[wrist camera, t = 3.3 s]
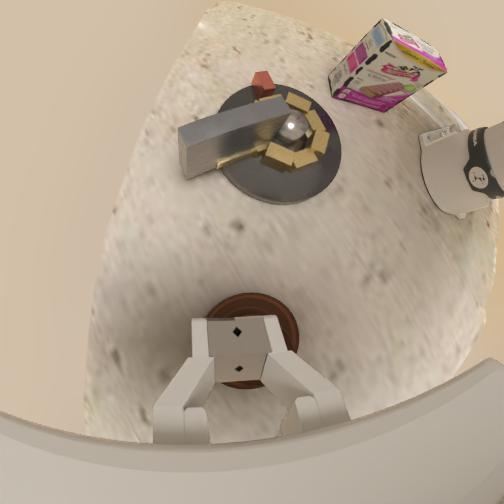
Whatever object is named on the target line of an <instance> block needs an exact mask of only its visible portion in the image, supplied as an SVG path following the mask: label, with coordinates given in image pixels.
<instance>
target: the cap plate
mask: <svg viewBox="0 0 504 504" xmlns="http://www.w3.org/2000/svg"><path fill="white" fill-rule="evenodd" d="M289 92H291V93H293V94H295V95H297V96H299V97H302V98H304V99H306V100H308V101H310V102H311V106H310V109H309V111H311V110H315V111H316V113H317V115H318V116H319V118H320V120H321V122H322V123H323V125H324V127H325V129H326V130H325V132H327V133H329V134H330V135H329V139H328V143H327V147H326V150H325V154H324V155H323V156H321V157H320V158H319V159H317V160H318V161H316V162H315V163H314V164H312V165H311V166H309V167H306V168H303V169H301V170H298V171H295V172H293V173H290V172H289V170H288V169H287V170H286V171H285V172H284V173H282V172H279V171H277V170H275V169H272V168H270V167H268V166H265V165H263V164H260V163H259V162H260V160H261V157H262V155H261V156H258V157H255V158H253V156H250V157H247V158H244V159H241V160H239V161H236V162H234V163H231V164H228V165H226V166H223V167H221V168H220V169H221V170H222V172H223V173H224V175H225V176H226V177H227V178H228V180H229V181H230V182H231V183H232V184H233V185H234V186H235V187H237V188H238V189H239V190H241V191H242V192H243V193H245V194H247V195H249V196H250V197H252V198H255V199H257V200H259V201H263V202H266V203H271V204H279V205H287V204H295V203H299V202H302V201H305V200H307V199H309V198H311V197H313V196H315V195H317V194H318V193H320V192H322V191H323V190H324V189H325V188H326V187H328V185H329V184H330V183H331V182H332V181H333V179H334V177H335V176H336V174H337V171H338V169H339V166H340V161H341V144H340V138H339V135H338V132H337V129H336V127H335V125H334V123H333V121H332V120H331V118H330V117H329V115H328V114H327V113H326V111H325V110H324V109H323V108H322V107H321V106H320V105H319V104H318V103H317V102H316V101H314V100H313V99H312V98H310V97H309V96H307V95H306V94H304V93H302V92H300V91H298V90H296V89H293V88H291V87H287V86H283V85H278V84H274V83H273V81H272V79H271V77H270V75H269V73H268V72H267V71H262V72H256V73H255V75H254V78H253V80H252V86H249V87H246V88H243V89H241V90H239V91H237V92H236V93H234V94H233V95H232V96H230V97H229V98H228V99H227V100H226V101H225V102H224V104H223V105H222V106H221V108H220V110H219V112H218V113H221V112H224V111H227V110H231V109H234V108H237V107H241V106H244V105H248V104H251V103H254V102H255V100H257V101H258V100H259V99H261V98H265V97H269V96H273V95H278V94H281V95H282V97H283V98H284V99H285V97H286V96H287V94H288V93H289ZM290 110H291V112H292V114H291V115H290V116H289V118H288V119H287V120H286V122H285V123H284V124H283V126H282V127H281V128H280V130H279V131H278V133H277V134H276V135H275V137H274V138H273V139H272V141H271V142H273V143H275V144H278V145H280V146H282V147H285V148H287V149H289V150H291V151H293V152H298V151H301V150H304V148H305V145H306V141H307V138H308V137H307V136H306V134H305V132H306V131H307V129H308V121H307V119H306V117H305V116H304V115H303V114H302V113H301V112H299V111H297V110H294V109H290Z"/></svg>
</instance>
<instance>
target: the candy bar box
mask: <svg viewBox="0 0 504 504" xmlns="http://www.w3.org/2000/svg"><path fill="white" fill-rule="evenodd" d="M445 73H447V69H446V67H445V65H444V63H443V60H442V58H441V57H440V54H439V52H438V51H437V49H435V48H433V47H432V46H431V45H429V44H428V43H426V42H424V41H423V40H421V39H420V38H418V37H416V36H415V35H413V34H411V33H410V32H408V31H406V30H405V29H403V28H401V27H399V26H397V25H396V24H394V23H392V22H390V21H388V20H386V19H384V18H382V19H381V20H380V21H379V22H378V23H377V24H376V25H375V26H374V27H373V28H372V29H371V30H370V31H369V32H368V33H367V34H366V35H365V36H364V37H363V39H362V40H361V41H360V42H359V43H358V44H357V45H356V46H355V47H354V49H352V51H351V52H349V54H348V55H347V56H346V57H345V58H344V59H343V60H342V61H341V62H340V64H339V65H338V66H337V67H336V68H335V69H334V70H333V71H332V72H331V74H330V75H329V76H328V77H329V82H330V88H331V94H332V97H333V98H337V99H341V100H345V101H349V102H353V103H356V104H359V105H363V106H366V107H369V108H373V109H376V110H379V111H382V112H386V111H388V110H389V109H391V108H392V107H394V106H395V105H397V104H398V103H400V102H401V101H403V100H404V99H406V98H407V97H409V96H411V95H412V94H413V93H415V92H416V91H418V90H420V89H421V88H423V87H425V86H426V85H428V84H429V83H431V82H432V81H434V80H436V79H437V78H438V77H441V76H442V75H444V74H445Z"/></svg>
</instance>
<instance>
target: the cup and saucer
mask: <svg viewBox="0 0 504 504" xmlns="http://www.w3.org/2000/svg"><path fill="white" fill-rule="evenodd" d="M265 315H276V316H277V318H278V321H279V325H280V328H281V331H282V334H283V337H284V341H285V344H286V347H287V350H288V351H291V350H292V351H293V352H294V353H295V354H296V353H297V350H298V345H299V331H298V326H297V323H296V320H295V318H294V316H293V315H292V313H291V312H290V310H289V309H288V308H287V307H286V306H285V305H284V304H283V303H281V302H280V301H279V300H277V299H275V298H273V297H271V296H268V295H265V294H260V293H243V294H239V295H235V296H232V297H230V298H228V299H226V300H224V301H223V302H221V303H220V304H218V305H217V306H216V307H215V308H214V309H213V310H212V311H211V312H210V313H209V314H208V316H207V317H206V319H207V318H234V317H247V316H265ZM221 383H222V384H224V385H227V386H229V387H233V388H237V389H254V388H259V387H262V386H265V385H264V384H263V383H262V382H261V381H260V380H247V381H232V382H221Z"/></svg>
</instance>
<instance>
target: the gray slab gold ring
mask: <svg viewBox="0 0 504 504" xmlns="http://www.w3.org/2000/svg"><path fill="white" fill-rule="evenodd" d="M310 106H311V102H310V101H308V100H306V99H304V98H302V97H299V96H297V95H295V94H293V93H291V92H289V93H288V94H287V96H286V97H285V99H284V98H283V97H282V95H281V94H278V95H273V96H269V97H265V98H261V99H259V100H258V101H257V100H255V102H254V103H251V104H248V105H244V106H241V107H237V108H234V109H231V110H227V111H224V112H221V113H218V114H215V115H212V116H209V117H206V118H203V119H200V120H197V121H194V122H192V123H189V124H186V125H184V126H181V127H178V142H179V157H180V166H181V168H182V170H183V172H184V175H185V177H186V179H187V180H188V179H190V178H192V177H195V176H197V175H199V174H202V173H204V172H207V171H209V170H211V169H214V168H216V169H218V168H221V167H223V166H226V165H228V164H231V163H234V162H236V161H239V160H241V159H244V158H247V157H250V156H253V158H255V157H258V156H261V155H262V157H261V160H260V162H259V163H260V164H263V165H265V166H268V167H270V168H272V169H275V170H277V171H279V172H282V173H284V172H285V171H286V170H287V169H288V170H289V172H290V173H293V172H295V171H298V170H301V169H303V168H306V167H309V166H311V165H312V164H314V163H315V162H316V161H318V160H317V159H319V158H320V157H321V156H323V155H324V154H325V150H326V147H327V143H328V139H329V135H330V134H329V133H327V132H325V130H326V129H325V127H324V125H323V123H322V122H321V120H320V118H319V116H318V115H317V113H316V111H315V110H311V111H309V109H310ZM290 109H294V110H297V111H299V112H301V113H302V114H303V115H304V116H305V117H306V119H307V121H308V129H307V131H306V132H305V134H306V136H307V137H308V138H307V141H306V145H305V148H304V150H301V151H298V152H293V151H291V150H289V149H287V148H285V147H282V146H280V145H278V144H275V143H273V142H271V141H272V139H273V138H274V137H275V135H276V134H277V133H278V131H279V130H280V128H281V127H282V126H283V124H284V123H285V122H286V120H287V119H288V118H289V116H290V115H291V114H292V112H291V110H290Z"/></svg>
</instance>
